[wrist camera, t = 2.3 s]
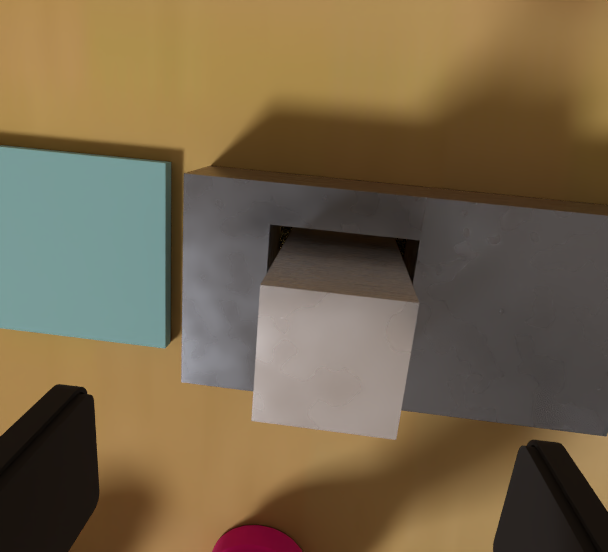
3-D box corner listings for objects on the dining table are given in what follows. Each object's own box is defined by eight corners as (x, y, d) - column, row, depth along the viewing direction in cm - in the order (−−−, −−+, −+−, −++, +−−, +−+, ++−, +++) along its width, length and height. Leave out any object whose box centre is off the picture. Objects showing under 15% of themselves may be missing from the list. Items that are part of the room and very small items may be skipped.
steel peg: (393, 234, 25) (419, 303, 15) (379, 325, 26) (395, 439, 17) (295, 224, 25) (260, 285, 15) (287, 314, 26) (251, 420, 17)
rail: (622, 206, 23) (675, 222, 19) (569, 391, 26) (606, 436, 22) (210, 165, 24) (184, 173, 21) (205, 346, 27) (181, 382, 24)
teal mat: (171, 161, 25) (165, 163, 24) (170, 342, 28) (165, 348, 27) (-18, 143, 25) (-29, 143, 24) (2, 321, 28) (-8, 326, 27)
